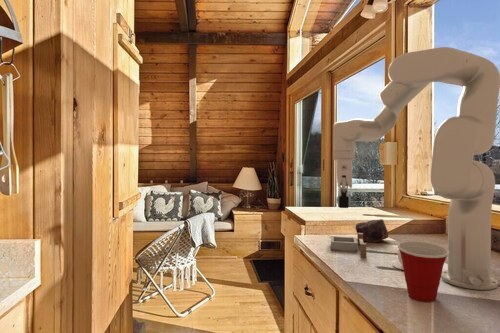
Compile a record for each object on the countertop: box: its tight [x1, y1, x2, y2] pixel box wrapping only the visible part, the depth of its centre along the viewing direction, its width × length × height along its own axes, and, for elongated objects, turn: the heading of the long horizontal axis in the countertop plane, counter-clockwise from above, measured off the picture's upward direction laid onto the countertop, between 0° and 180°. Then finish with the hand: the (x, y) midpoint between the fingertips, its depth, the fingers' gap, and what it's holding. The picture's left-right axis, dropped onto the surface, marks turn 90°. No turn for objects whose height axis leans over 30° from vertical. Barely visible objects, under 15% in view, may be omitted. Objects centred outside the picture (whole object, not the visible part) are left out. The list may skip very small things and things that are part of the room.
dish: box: [330, 235, 359, 253], centre depth 128 cm, size 9×9×3 cm
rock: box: [355, 218, 389, 244], centre depth 138 cm, size 12×9×10 cm
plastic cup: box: [397, 240, 449, 303], centre depth 82 cm, size 11×11×12 cm
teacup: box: [392, 249, 404, 271], centre depth 105 cm, size 10×10×5 cm
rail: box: [357, 233, 367, 259], centre depth 124 cm, size 18×2×4 cm, turn 166°
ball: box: [336, 194, 352, 207], centre depth 128 cm, size 5×5×5 cm
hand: (343, 206), depth 128 cm, fingers closed on ball, 4 cm apart
